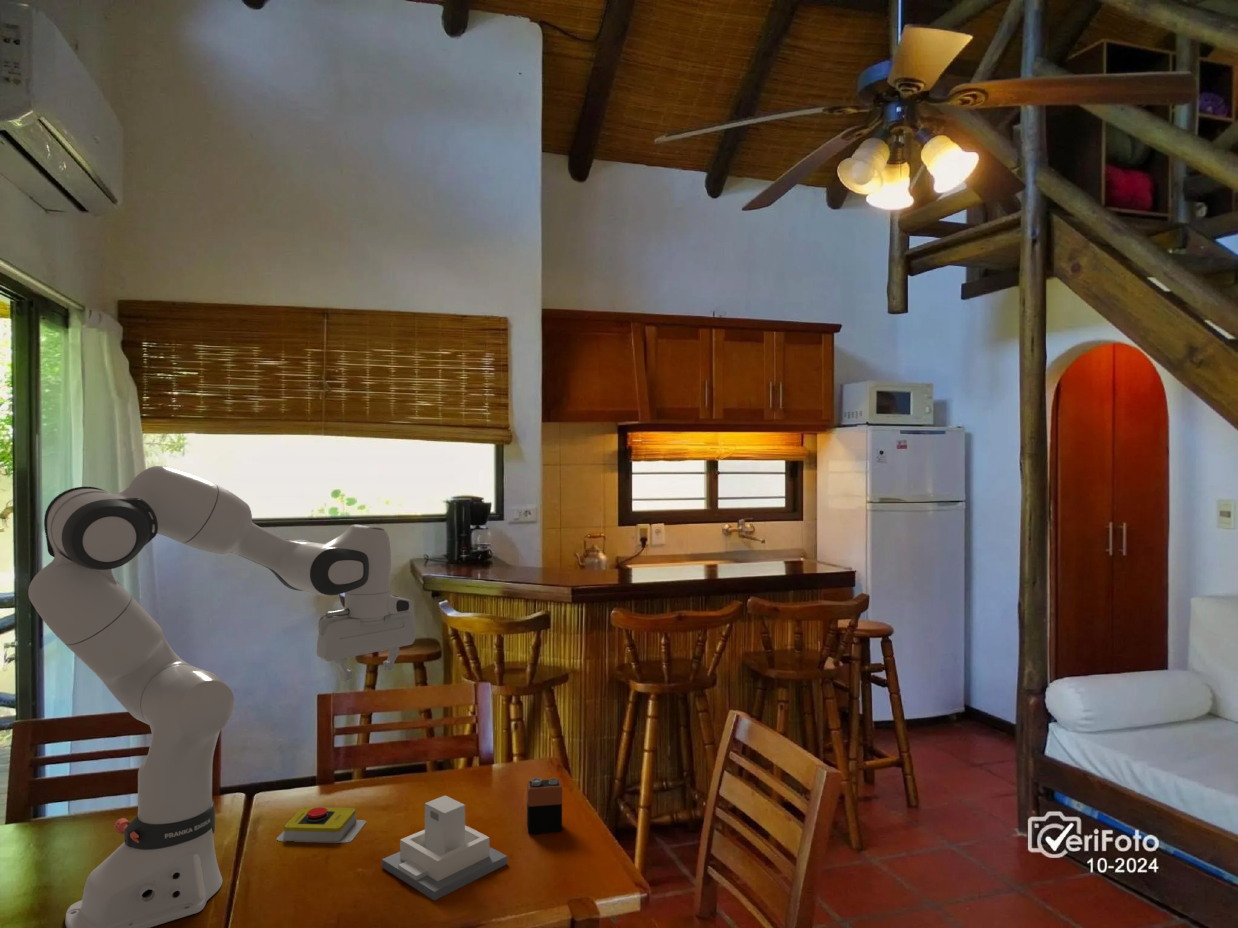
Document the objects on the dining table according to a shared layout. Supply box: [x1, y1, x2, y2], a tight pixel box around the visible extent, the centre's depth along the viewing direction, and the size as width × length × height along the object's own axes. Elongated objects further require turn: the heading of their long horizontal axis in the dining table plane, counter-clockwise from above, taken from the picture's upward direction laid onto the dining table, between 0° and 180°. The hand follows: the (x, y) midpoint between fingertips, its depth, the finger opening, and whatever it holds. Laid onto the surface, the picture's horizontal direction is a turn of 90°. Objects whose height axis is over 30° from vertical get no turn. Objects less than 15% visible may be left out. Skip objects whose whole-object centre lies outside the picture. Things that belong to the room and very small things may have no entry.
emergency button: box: [276, 806, 367, 844], centre depth 157 cm, size 9×4×15 cm
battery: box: [526, 777, 563, 835], centre depth 158 cm, size 4×7×10 cm, turn 101°
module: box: [424, 795, 466, 856], centre depth 144 cm, size 5×6×9 cm
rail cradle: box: [381, 824, 508, 901], centre depth 143 cm, size 16×16×5 cm
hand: (367, 674), depth 157 cm, fingers open, 8 cm apart
